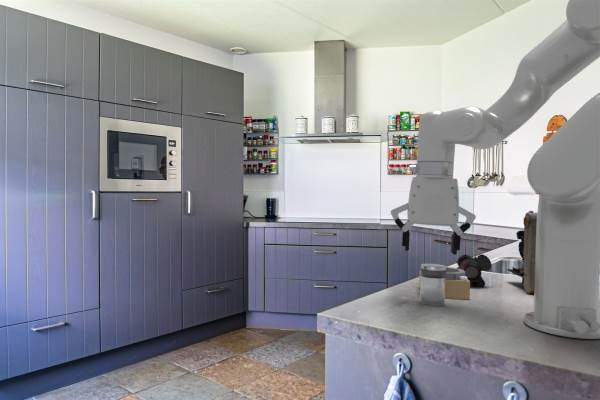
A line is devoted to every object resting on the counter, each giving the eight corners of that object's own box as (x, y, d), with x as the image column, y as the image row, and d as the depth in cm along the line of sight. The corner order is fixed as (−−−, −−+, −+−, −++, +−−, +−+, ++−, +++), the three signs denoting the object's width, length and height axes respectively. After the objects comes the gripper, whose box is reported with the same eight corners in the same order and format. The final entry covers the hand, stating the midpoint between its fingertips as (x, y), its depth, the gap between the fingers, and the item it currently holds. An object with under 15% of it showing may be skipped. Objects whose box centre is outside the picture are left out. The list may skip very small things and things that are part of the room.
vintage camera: (541, 285, 112) (540, 211, 113) (572, 296, 97) (572, 211, 98) (503, 284, 113) (503, 210, 114) (529, 295, 98) (528, 210, 99)
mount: (469, 299, 92) (470, 274, 92) (422, 296, 94) (423, 272, 94) (461, 289, 102) (462, 267, 102) (419, 287, 104) (419, 265, 104)
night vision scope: (463, 284, 121) (493, 264, 119) (469, 299, 104) (504, 276, 102) (445, 262, 122) (474, 241, 120) (448, 273, 105) (482, 250, 103)
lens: (446, 307, 86) (448, 268, 86) (420, 305, 87) (421, 266, 87) (443, 301, 91) (444, 264, 91) (418, 299, 92) (419, 263, 92)
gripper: (393, 169, 87) (388, 251, 87) (482, 172, 83) (476, 257, 84) (392, 170, 94) (388, 246, 95) (474, 173, 91) (469, 252, 91)
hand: (429, 251), depth 89 cm, fingers open, 9 cm apart
